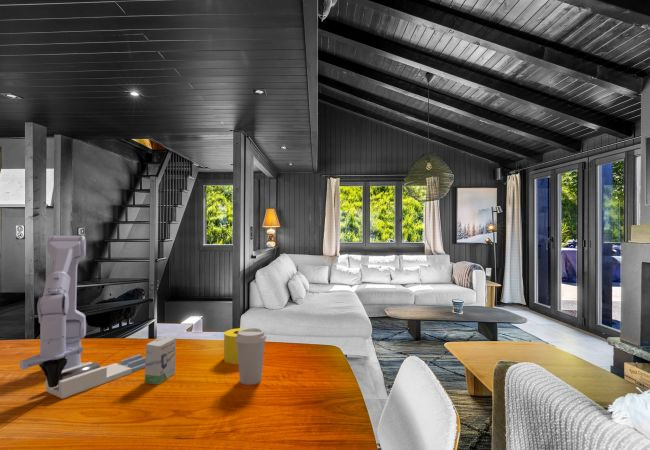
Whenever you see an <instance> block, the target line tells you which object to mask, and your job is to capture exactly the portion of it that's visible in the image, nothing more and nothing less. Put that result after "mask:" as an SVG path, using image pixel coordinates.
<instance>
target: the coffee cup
mask: <svg viewBox="0 0 650 450" xmlns="http://www.w3.org/2000/svg"><path fill="white" fill-rule="evenodd" d="M266 340H267V334H266V333H265V331H264V329H262V328H255V327H251V328H245V329H243V330H240V331H238V334H237V335H236V338H235V341H236V342H237V351H238V364H237V365H238V375H239V376H238V377H239V383H240V384H242V385H246V386H251V385H257V384H259V383H260V382H261V381H262V376H263V375H262V374H263V365H264V351H265V343H266Z"/></svg>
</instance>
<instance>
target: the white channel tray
mask: <svg viewBox="0 0 650 450" xmlns="http://www.w3.org/2000/svg"><path fill="white" fill-rule="evenodd" d="M84 363H85V364H81V365H78V366H75V367H72V368H68V369H65V370H62V373H63V372H67V371H70V370H73V369H76V368H79V367H83V366H86V365H89V364H92V363H93V362H92V361H87V362H84ZM132 373H133V372H132V368H129V367H126V366H123V365H120V363H116V362H114V363H111V364H109V365H105V366H104V365H103V366H100V368H97V369H94V370H91V371H88V372H85V373H82V374H79V375H75V376H72V377H69V378H66V379H63V380H60V381H59V387H58V385H57V386H56V387H53V388H51V387H49V386H48V382H47V379H46V378H45V392H47V393H49V394H51V395H53V396H56V397H58V398H60V399H62V400H63V399H66V398H68V397H70V396H73V395H74V396H75V395H76V394H78V393H81V392H84V391H87V390H90V389H92V388H95V387H99V386H100V385H103V384H106V383H108V382H112V381H114V380H117V379H119V378H122V377H126V376H127V375H130V374H132Z"/></svg>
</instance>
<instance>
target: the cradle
mask: <svg viewBox="0 0 650 450" xmlns="http://www.w3.org/2000/svg"><path fill="white" fill-rule="evenodd" d="M145 360H146V356H144V357H143V354H141V353H140V354H139V353H138V354H137V355H133V356H130V357H128V358H125V359H121V360H120V363H119V364H120V365H123V366H126V367H129V368H132V373H134V372H137V371H139V370H142V369H144V368H145Z"/></svg>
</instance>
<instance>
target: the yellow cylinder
mask: <svg viewBox="0 0 650 450" xmlns="http://www.w3.org/2000/svg"><path fill="white" fill-rule="evenodd" d="M243 329H246V328H245V327H244V328H242V327H241V328H240V327H239V328H238V327H237V328H231V329H229V330H225V331H224V332H223V333H224V334H223V338H224V339H223V360H224V362H225V363H227V364H233V365H239V364H238V351H237V342H236V341H235V338H236V335H237V334H238V331H240V330H243Z"/></svg>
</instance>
